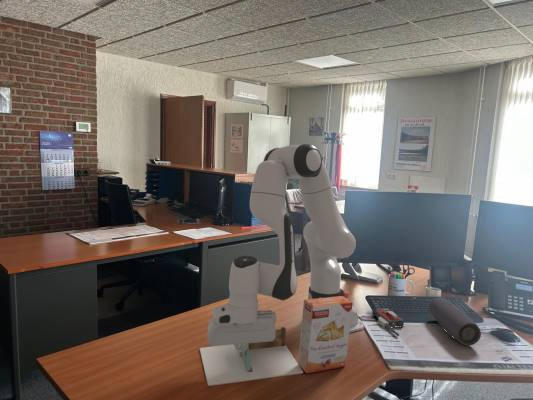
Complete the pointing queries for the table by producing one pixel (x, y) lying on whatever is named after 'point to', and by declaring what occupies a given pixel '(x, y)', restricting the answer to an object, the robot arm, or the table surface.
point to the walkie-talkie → (389, 319)
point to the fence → (276, 342)
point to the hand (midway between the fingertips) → (240, 356)
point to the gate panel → (247, 358)
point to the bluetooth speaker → (455, 321)
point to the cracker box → (324, 333)
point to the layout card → (234, 370)
